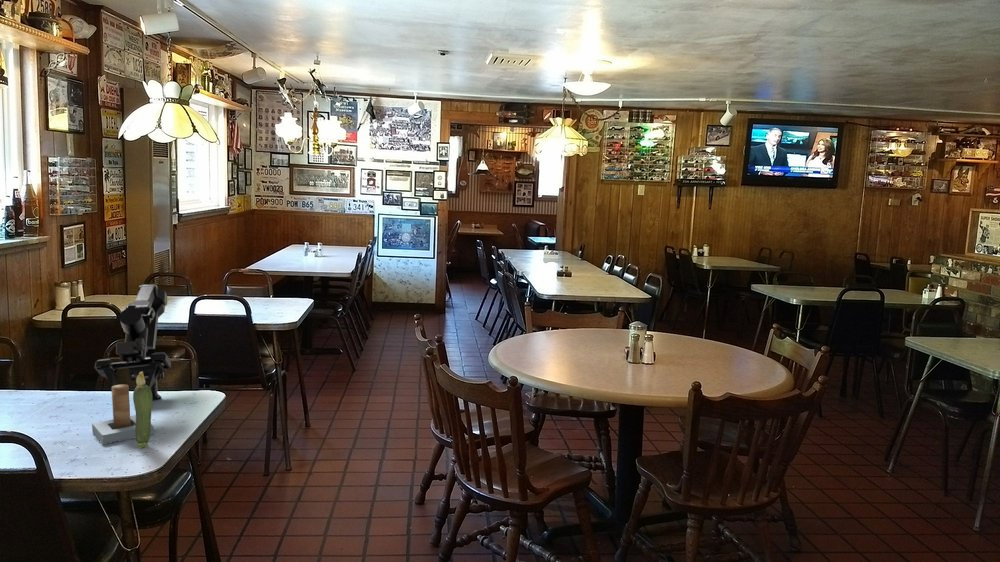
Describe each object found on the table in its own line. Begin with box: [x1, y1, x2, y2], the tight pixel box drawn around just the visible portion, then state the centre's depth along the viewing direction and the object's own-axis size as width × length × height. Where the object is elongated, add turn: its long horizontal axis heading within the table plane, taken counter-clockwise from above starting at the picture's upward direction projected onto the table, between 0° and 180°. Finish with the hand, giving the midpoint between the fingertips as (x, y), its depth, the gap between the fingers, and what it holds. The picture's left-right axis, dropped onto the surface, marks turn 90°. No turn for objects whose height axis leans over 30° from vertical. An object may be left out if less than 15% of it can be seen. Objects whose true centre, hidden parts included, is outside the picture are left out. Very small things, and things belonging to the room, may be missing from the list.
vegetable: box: [132, 371, 154, 449], centre depth 180 cm, size 4×4×20 cm
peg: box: [111, 383, 131, 429], centre depth 189 cm, size 4×4×13 cm
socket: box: [91, 414, 154, 445], centre depth 190 cm, size 12×12×2 cm
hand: (130, 391), depth 198 cm, fingers open, 9 cm apart
